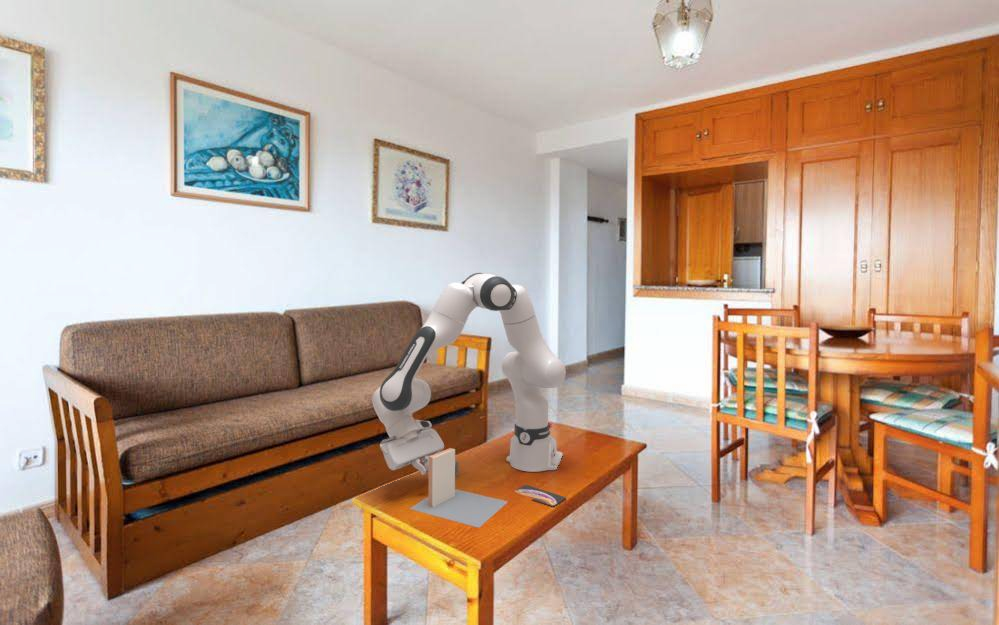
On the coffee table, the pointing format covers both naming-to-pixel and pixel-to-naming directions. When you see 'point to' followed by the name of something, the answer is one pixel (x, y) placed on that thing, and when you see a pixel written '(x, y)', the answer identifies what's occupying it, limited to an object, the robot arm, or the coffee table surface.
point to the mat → (463, 508)
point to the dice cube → (456, 468)
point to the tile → (441, 477)
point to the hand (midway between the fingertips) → (427, 472)
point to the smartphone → (540, 495)
